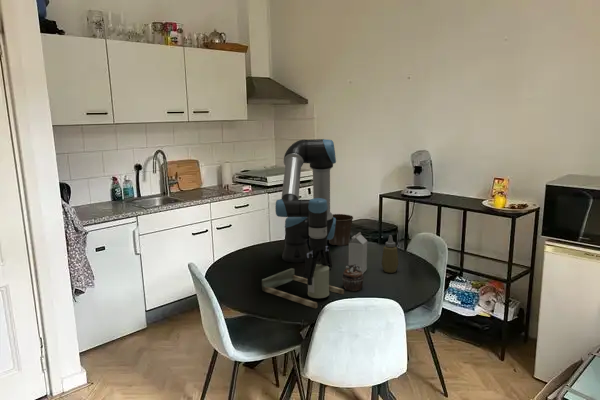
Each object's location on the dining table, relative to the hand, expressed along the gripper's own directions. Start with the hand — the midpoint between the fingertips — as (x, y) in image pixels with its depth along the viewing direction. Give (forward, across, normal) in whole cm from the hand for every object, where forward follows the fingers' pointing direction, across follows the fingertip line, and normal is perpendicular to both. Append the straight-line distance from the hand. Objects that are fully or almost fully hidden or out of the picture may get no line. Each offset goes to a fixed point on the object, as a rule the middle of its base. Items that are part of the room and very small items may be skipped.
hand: (318, 288), depth 189 cm
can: (+3, 0, 0) cm, 3 cm away
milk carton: (+4, +37, +5) cm, 37 cm away
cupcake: (+4, +18, -5) cm, 19 cm away
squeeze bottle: (+4, +47, -7) cm, 48 cm away
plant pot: (+4, +72, +41) cm, 83 cm away
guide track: (+4, 0, +9) cm, 10 cm away
